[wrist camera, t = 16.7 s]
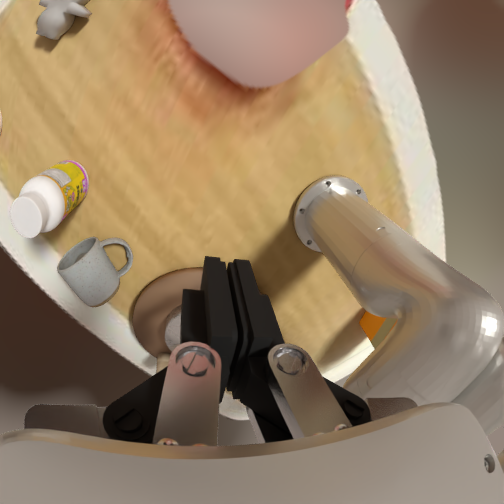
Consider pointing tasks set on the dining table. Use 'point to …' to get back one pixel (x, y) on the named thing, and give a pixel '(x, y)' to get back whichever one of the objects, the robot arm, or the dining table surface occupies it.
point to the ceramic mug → (93, 270)
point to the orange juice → (376, 327)
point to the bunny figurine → (60, 16)
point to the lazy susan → (162, 310)
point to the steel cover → (173, 328)
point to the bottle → (0, 122)
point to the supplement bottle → (49, 198)
